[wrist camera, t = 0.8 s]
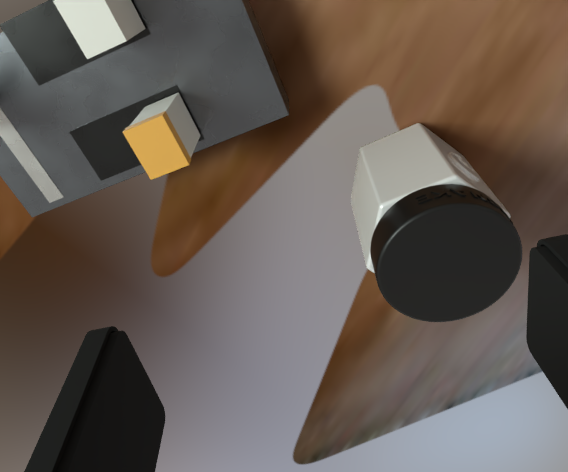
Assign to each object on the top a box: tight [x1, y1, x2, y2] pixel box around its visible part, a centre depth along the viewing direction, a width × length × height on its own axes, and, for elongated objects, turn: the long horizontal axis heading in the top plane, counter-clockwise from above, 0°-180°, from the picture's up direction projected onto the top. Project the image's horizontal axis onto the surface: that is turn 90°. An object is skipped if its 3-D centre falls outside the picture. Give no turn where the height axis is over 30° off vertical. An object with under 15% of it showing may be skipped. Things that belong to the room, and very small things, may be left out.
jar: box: [351, 123, 522, 322], centre depth 33 cm, size 9×8×12 cm
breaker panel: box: [0, 0, 289, 217], centre depth 33 cm, size 20×11×4 cm, turn 112°
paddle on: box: [123, 93, 200, 180], centre depth 30 cm, size 2×3×5 cm
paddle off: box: [53, 0, 146, 59], centre depth 27 cm, size 2×3×4 cm
